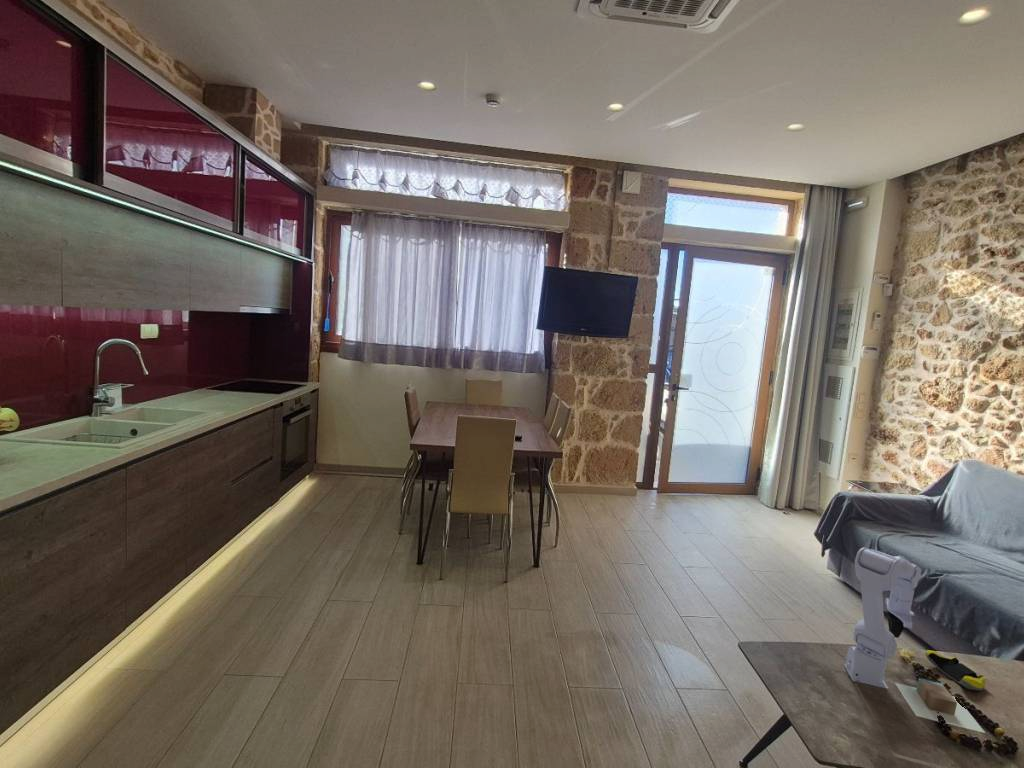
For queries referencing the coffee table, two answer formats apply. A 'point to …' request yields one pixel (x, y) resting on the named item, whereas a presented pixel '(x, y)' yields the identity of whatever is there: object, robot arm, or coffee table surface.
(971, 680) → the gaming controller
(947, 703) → the walnut block
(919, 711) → the sage mat
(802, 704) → the coffee table surface
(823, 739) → the coffee table surface
